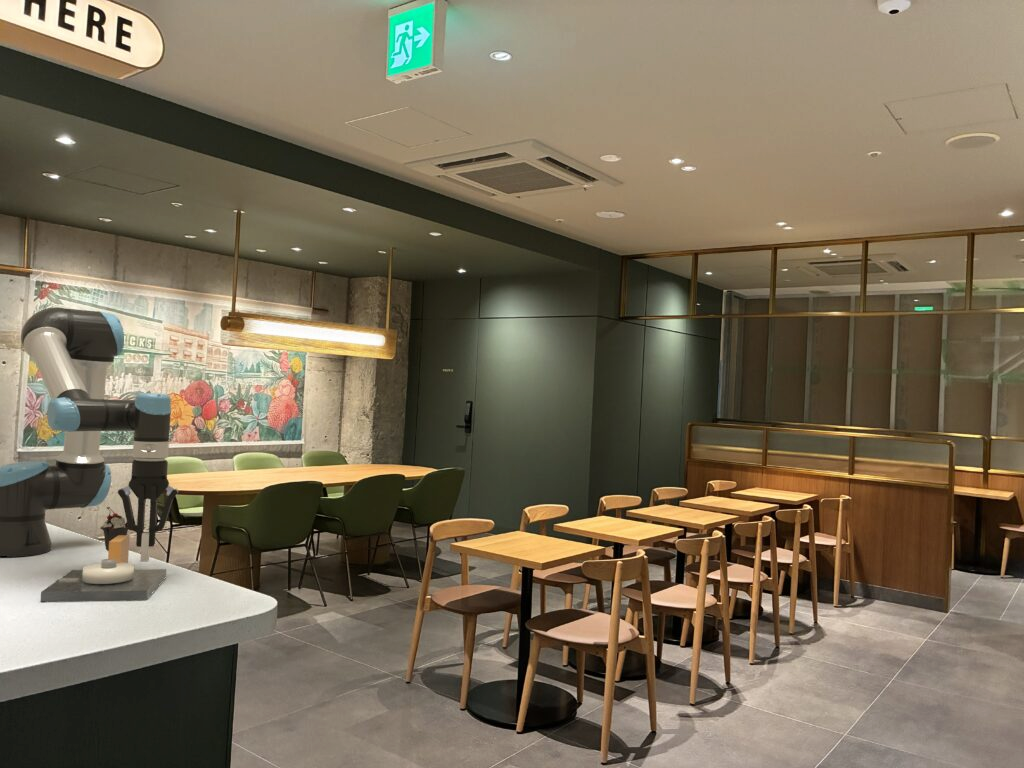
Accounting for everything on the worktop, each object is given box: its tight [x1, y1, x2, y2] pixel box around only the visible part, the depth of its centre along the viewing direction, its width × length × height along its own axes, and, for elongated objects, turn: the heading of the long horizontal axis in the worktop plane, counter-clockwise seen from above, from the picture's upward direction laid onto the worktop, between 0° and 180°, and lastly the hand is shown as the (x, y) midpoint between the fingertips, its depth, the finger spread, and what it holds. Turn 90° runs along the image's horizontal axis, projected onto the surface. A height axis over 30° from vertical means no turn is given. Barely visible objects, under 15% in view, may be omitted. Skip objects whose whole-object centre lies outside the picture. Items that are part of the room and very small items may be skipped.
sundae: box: [100, 506, 129, 552], centre depth 189 cm, size 7×7×15 cm
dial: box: [82, 534, 135, 584], centre depth 173 cm, size 17×10×7 cm, turn 14°
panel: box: [40, 568, 167, 603], centre depth 169 cm, size 20×20×2 cm
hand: (144, 560), depth 179 cm, fingers closed
